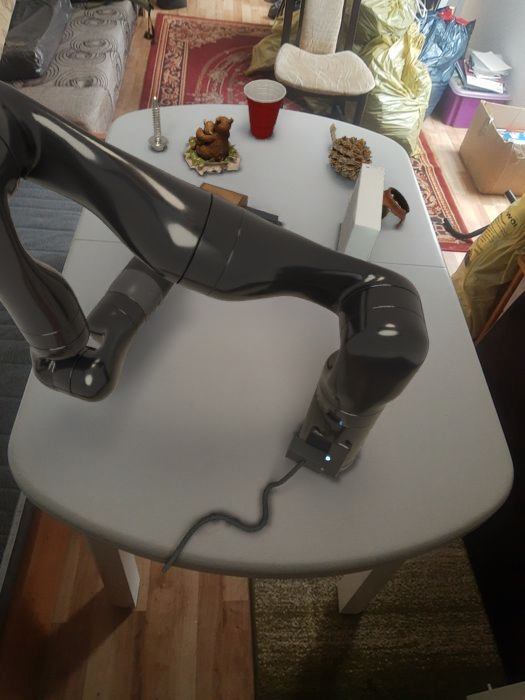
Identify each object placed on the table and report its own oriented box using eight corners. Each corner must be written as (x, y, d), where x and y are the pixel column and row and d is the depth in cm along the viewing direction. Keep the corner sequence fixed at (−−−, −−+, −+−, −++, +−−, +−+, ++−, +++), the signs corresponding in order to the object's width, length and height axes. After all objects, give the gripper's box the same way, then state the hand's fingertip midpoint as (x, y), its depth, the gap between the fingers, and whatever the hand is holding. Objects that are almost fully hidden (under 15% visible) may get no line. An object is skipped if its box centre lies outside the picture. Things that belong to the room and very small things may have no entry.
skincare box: (357, 293, 97) (381, 230, 84) (331, 287, 97) (350, 223, 84) (364, 229, 110) (386, 166, 97) (341, 224, 110) (359, 161, 97)
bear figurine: (229, 140, 127) (232, 92, 117) (245, 172, 119) (250, 124, 109) (178, 143, 123) (176, 95, 114) (191, 177, 115) (190, 128, 105)
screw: (158, 155, 119) (144, 148, 121) (172, 148, 122) (158, 141, 123) (154, 102, 109) (139, 95, 110) (169, 96, 111) (154, 88, 113)
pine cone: (374, 189, 120) (387, 152, 112) (340, 193, 117) (350, 156, 109) (338, 142, 132) (347, 106, 124) (306, 145, 129) (313, 108, 122)
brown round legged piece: (365, 202, 117) (392, 179, 112) (390, 232, 118) (417, 210, 112) (348, 215, 108) (376, 190, 103) (375, 247, 109) (404, 224, 103)
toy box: (227, 258, 99) (229, 222, 92) (183, 244, 100) (181, 207, 93) (244, 231, 105) (248, 194, 98) (202, 217, 106) (203, 180, 99)
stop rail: (272, 239, 104) (275, 221, 100) (180, 210, 107) (179, 191, 103) (281, 224, 108) (284, 205, 104) (191, 196, 111) (191, 176, 107)
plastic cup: (232, 129, 131) (235, 83, 121) (264, 120, 135) (268, 75, 126) (256, 148, 126) (261, 102, 116) (288, 138, 130) (295, 93, 121)
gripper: (177, 285, 70) (224, 218, 80) (97, 258, 71) (152, 196, 82) (180, 319, 76) (223, 252, 86) (105, 293, 77) (156, 231, 88)
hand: (188, 225), depth 84 cm, fingers closed
